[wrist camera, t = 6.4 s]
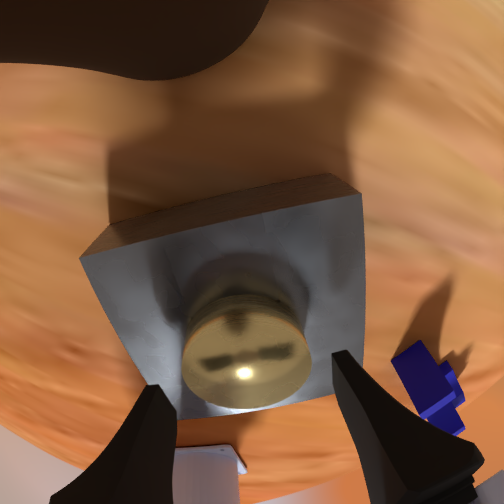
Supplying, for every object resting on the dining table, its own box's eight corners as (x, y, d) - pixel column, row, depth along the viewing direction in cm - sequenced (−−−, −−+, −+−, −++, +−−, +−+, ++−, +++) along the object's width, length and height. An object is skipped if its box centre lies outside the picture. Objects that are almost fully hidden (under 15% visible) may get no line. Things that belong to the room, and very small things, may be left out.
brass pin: (209, 344, 19) (206, 416, 14) (178, 270, 16) (160, 339, 11) (296, 324, 18) (317, 394, 13) (280, 245, 16) (303, 308, 11)
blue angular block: (453, 382, 25) (477, 420, 20) (420, 405, 26) (441, 445, 21) (433, 327, 21) (470, 377, 15) (389, 359, 22) (419, 414, 16)
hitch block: (179, 376, 20) (173, 420, 17) (109, 225, 15) (78, 258, 11) (343, 344, 20) (361, 385, 16) (330, 173, 15) (361, 193, 11)
